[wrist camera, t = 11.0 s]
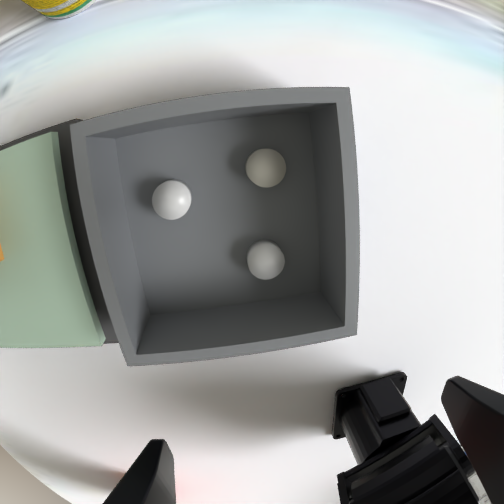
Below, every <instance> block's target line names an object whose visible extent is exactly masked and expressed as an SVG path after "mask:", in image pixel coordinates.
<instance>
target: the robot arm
mask: <svg viewBox="0 0 504 504" xmlns="http://www.w3.org/2000/svg"><path fill="white" fill-rule="evenodd" d="M406 380H407V376H406V374H405V373H404V372H401V373H398V374H394V375H391V376H388V377H384V378H381V379H378V380H374V381H370V382H367V383H363V384H359V385H356V386H352V387H348V388H344V389H340V390H338V391H337V392H336V395H335V407H334V418H333V429H332V436H333V438H334V439H340V438H344V437H346V438H347V441H348V443H349V445H350V448H351V450H352V452H353V455H354V457H355V459H356V462H357V464H358V465H357V466H355V467H353V468H352V469H350V470H348V471H346V472H342V473H340V474H338V475H337V478H338V483H337V485H338V490H339V496H340V502H341V504H480V500H479V497H478V496H477V494H476V492H475V490H474V489H473V487H472V485H471V483H470V482H469V480H468V478H469V477H471V476H472V475H473V474H475V472H476V474H477V476H478V478H479V480H480V482H481V484H482V486H483V488H484V490H485V492H486V494H487V496H488V498H489V500H490V502H491V504H504V395H503V394H501V393H498V392H496V391H493V390H491V389H489V388H486V387H484V386H481V385H479V384H477V383H474V382H472V381H469V380H467V379H465V378H462V377H460V376H455V377H452V378H450V379H448V380H447V381H446V384H445V387H444V390H443V393H442V396H441V401H442V404H443V406H444V409H445V411H446V413H447V416H448V418H449V420H450V423H451V425H452V427H453V430H454V432H455V434H456V436H457V438H458V440H459V442H460V444H461V446H462V447H463V449H464V451H465V452H464V451H463V449H462V448H461V446H460V445H459V443H458V442H457V441H456V440H455V438H454V437H453V436H452V435H451V433H450V432H449V431H448V430H447V428H446V427H445V426H444V425H443V423H442V422H441V421H440V420H439V418H438V417H437V416H436V415H435V414H434V415H433V416H431V417H430V418H429V420H428V421H426V422H425V423H423V424H422V425H421V424H420V422H419V421H418V419H417V418H416V416H415V415H414V413H413V412H412V410H411V407H410V406H409V404H408V403H407V401H406V400H405V398H404V397H403V392H404V388H405V384H406ZM342 394H343V395H342ZM465 453H466V454H465ZM103 504H176V494H175V476H174V458H173V454H172V452H171V450H170V448H169V446H168V444H167V442H166V441H165V440H164V439H152V440H150V441H149V443H148V444H147V445H146V447H145V448H144V450H143V451H142V452H141V454H140V455H139V456H138V458H137V459H136V460H135V462H134V463H133V464H132V466H131V467H130V468H129V470H128V471H127V472H126V474H125V475H124V476H123V478H122V479H121V480H120V482H119V483H118V484H117V486H116V487H115V488H114V490H113V491H112V492H111V493H110V495H109V496H108V497H107V499H106V500H105V501H104V503H103Z"/></svg>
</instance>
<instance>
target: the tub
mask: <svg viewBox="0 0 504 504" xmlns="http://www.w3.org/2000/svg"><path fill="white" fill-rule="evenodd" d="M70 133H71V142H72V150H73V158H74V165H75V172H76V178H77V185H78V190H79V196H80V202H81V207H82V212H83V217H84V222H85V226H86V231H87V235H88V240H89V244H90V248H91V252H92V256H93V260H94V264H95V268H96V272H97V275H98V279H99V282H100V286H101V289H102V293H103V296H104V299H105V303H106V306H107V309H108V312H109V315H110V318H111V321H112V324H113V327H114V330H115V333H116V336H117V339H118V342H119V344H120V347H121V350H122V353H123V355H124V358H125V360H126V363H127V366H142V365H157V364H170V363H182V362H192V361H202V360H211V359H219V358H228V357H235V356H243V355H250V354H257V353H263V352H270V351H276V350H282V349H288V348H294V347H299V346H305V345H310V344H315V343H321V342H326V341H330V340H335V339H340V338H345V337H349V336H354V335H357V322H358V302H359V267H360V229H359V194H358V174H357V158H356V145H355V134H354V123H353V114H352V105H351V96H350V88H349V87H294V88H273V89H258V90H246V91H235V92H226V93H217V94H209V95H202V96H195V97H188V98H182V99H176V100H170V101H165V102H160V103H154V104H149V105H145V106H140V107H135V108H131V109H126V110H122V111H118V112H114V113H110V114H106V115H102V116H99V117H95V118H91V119H88V120H84V121H81V122H77V123H74V124H71V125H70Z"/></svg>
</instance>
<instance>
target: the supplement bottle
mask: <svg viewBox="0 0 504 504" xmlns="http://www.w3.org/2000/svg"><path fill="white" fill-rule="evenodd" d="M22 1H23V2H25V3H26V4H28V5H29V6H31V7H32V8H34V9H35V10H37V11H38V12H40V13H41V14H43V15H44V16H46V17H48V18H53V19H63V18H68V17H72V16H74V15H76V14H79V13H81V12H82V11H84V10H85V9H87V8H88V7H90V6H91V5H92V4H93V3H94V2H95V1H96V0H22Z"/></svg>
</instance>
